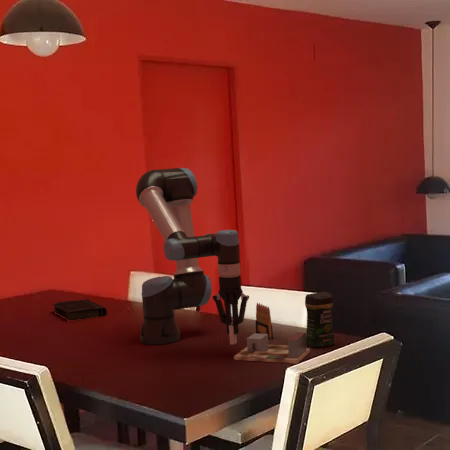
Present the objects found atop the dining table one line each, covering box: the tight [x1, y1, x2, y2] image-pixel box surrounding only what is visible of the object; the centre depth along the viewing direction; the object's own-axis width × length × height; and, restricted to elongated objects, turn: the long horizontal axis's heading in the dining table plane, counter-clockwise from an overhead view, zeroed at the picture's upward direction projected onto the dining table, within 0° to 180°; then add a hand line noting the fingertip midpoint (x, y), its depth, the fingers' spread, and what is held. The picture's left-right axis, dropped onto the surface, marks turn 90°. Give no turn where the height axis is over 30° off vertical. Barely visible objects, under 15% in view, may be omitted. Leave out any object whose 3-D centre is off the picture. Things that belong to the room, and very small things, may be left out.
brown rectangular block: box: [287, 331, 307, 358], centre depth 245 cm, size 3×10×6 cm, turn 157°
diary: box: [51, 298, 108, 320], centre depth 334 cm, size 19×25×5 cm
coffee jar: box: [304, 291, 335, 348], centre depth 258 cm, size 10×8×19 cm
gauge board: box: [233, 344, 311, 365], centre depth 248 cm, size 22×14×2 cm, turn 67°
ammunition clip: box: [255, 302, 274, 340], centre depth 276 cm, size 11×2×12 cm, turn 24°
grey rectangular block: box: [246, 332, 269, 353], centre depth 248 cm, size 5×11×5 cm, turn 157°
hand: (233, 343), depth 254 cm, fingers closed
